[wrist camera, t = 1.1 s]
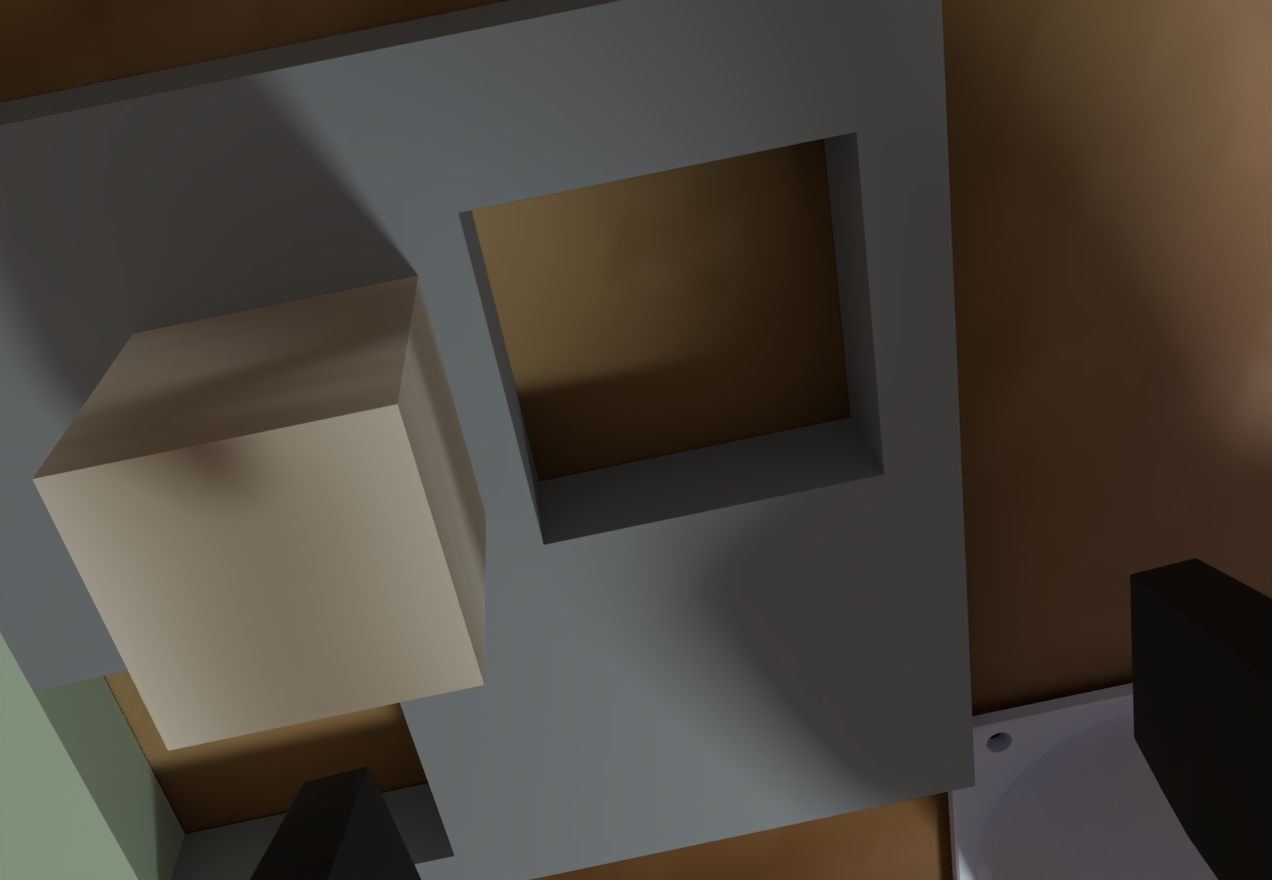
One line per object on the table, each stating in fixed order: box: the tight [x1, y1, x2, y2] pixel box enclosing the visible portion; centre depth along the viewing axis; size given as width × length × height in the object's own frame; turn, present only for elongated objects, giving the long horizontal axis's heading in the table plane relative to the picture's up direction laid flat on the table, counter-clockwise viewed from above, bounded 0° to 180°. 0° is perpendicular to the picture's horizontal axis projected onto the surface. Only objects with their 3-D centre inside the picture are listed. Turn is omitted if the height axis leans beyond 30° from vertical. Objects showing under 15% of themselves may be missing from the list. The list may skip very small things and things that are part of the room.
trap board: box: [0, 0, 975, 880], centre depth 18 cm, size 20×15×4 cm
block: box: [32, 276, 486, 751], centre depth 15 cm, size 4×4×4 cm
